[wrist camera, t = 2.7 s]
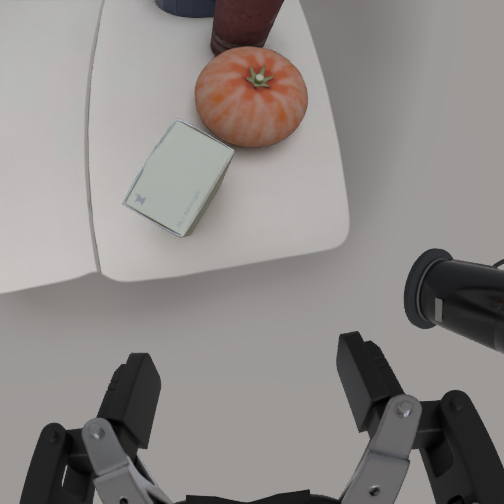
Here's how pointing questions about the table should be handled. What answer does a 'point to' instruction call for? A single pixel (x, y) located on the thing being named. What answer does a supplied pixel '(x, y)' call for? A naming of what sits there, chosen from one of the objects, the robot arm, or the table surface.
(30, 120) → the table surface
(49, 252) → the table surface
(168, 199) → the cosmetic box
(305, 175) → the table surface
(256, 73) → the tomato
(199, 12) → the pot
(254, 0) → the rusty soda tin
